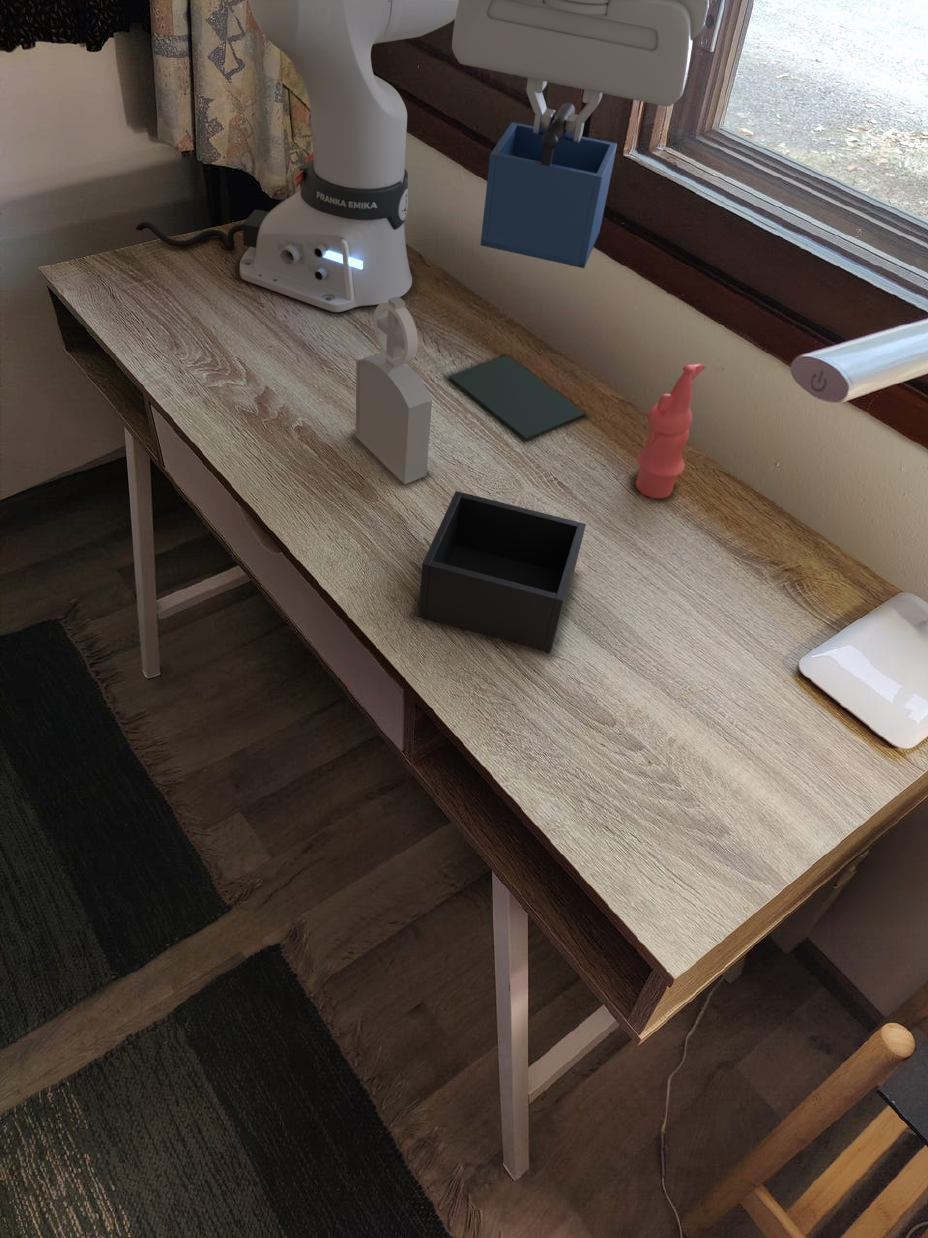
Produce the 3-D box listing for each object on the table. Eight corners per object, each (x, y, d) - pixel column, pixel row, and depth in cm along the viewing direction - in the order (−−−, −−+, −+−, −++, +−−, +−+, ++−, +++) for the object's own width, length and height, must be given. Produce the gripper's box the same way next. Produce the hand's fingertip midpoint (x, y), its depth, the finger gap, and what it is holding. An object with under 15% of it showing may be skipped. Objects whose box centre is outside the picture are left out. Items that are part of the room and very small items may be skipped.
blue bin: (479, 247, 91) (492, 122, 82) (502, 208, 97) (516, 89, 88) (583, 270, 89) (607, 146, 81) (600, 230, 95) (624, 110, 87)
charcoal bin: (417, 616, 86) (422, 563, 81) (449, 543, 93) (455, 490, 88) (550, 652, 85) (563, 601, 80) (573, 575, 92) (586, 523, 87)
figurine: (648, 464, 105) (684, 343, 94) (686, 487, 103) (727, 366, 92) (620, 483, 102) (653, 360, 91) (658, 507, 100) (697, 385, 89)
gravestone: (376, 428, 105) (381, 274, 91) (426, 475, 100) (438, 320, 87) (355, 436, 103) (357, 280, 90) (404, 484, 99) (413, 327, 85)
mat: (448, 378, 112) (449, 375, 112) (506, 357, 117) (507, 354, 116) (525, 441, 106) (526, 438, 105) (584, 416, 110) (585, 413, 110)
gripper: (719, -31, 77) (674, 146, 87) (475, -77, 79) (460, 101, 89) (711, -11, 73) (665, 173, 83) (454, -61, 75) (440, 124, 85)
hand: (557, 135), depth 86 cm, fingers closed on blue bin
